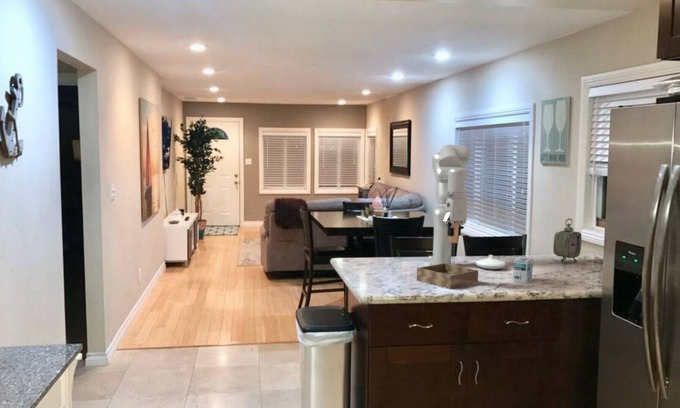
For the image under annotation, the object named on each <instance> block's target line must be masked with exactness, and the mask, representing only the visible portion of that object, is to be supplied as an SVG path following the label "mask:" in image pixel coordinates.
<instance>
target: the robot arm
mask: <svg viewBox="0 0 680 408" xmlns="http://www.w3.org/2000/svg"><path fill="white" fill-rule="evenodd" d="M469 158H470V149H469V148H468V146H467V145H464V144H446V145H443V146H442V147H441V148H440V150H439V152H436V153H434V154H433V155H432V156H431V166H432V167H431V168H432V169H433V173H434V176H435V200H436V203H438V204H439V205H445V206H437V207H435V208H434V209H433V211H432V220H433V221H432V222H433V244H432V248H433V249H432V255H430V256H428V257H427V260H428V261H430V262H429V266H431V265H437V264H442V263H446V264H451V265H454V263H452V245H453V243H450V242H449V236H452V237H453V236H454V228H453V225H454V221H459V230H458V236H461V228H462V226H464V225H465V224H466V223H467V218H468V205H467V204H468V201H467V200H468V199H467V198H468V197H467V190H466V188H465V187H466V186H465V182H466V180H467V177H468V175H467V174H468V173H467V170H466V169H465V168H466V166H467V164H468V162H469V160H470V159H469ZM451 220H452V221H451ZM450 222H451V223H450Z"/></svg>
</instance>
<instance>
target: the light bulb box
mask: <svg viewBox="0 0 680 408" xmlns="http://www.w3.org/2000/svg"><path fill="white" fill-rule="evenodd" d="M533 269H534V258H533V257H530V256H529V257H527V256H522V255H521V256H517V257H516V258H514V259H513V272H512V273H513V276H512V282H514V283H516V282H517V283H524V284H528V283H529V282H531V281H532V280H533Z"/></svg>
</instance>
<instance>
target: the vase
mask: <svg viewBox="0 0 680 408" xmlns="http://www.w3.org/2000/svg"><path fill="white" fill-rule="evenodd" d="M475 265H476V266H478V267H479V268H482V269H486V270H491V271H492V270H501V269H503V268H505V267H507V263H506V261H505V260H500V259H498V258H494V255H493V254H488V257H487V258H486V257H485V258H479V259H476V260H475Z"/></svg>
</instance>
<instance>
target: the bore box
mask: <svg viewBox="0 0 680 408" xmlns="http://www.w3.org/2000/svg"><path fill="white" fill-rule="evenodd" d="M416 281H417V282H421V283H425V284H428V283H429V284H430V285H432V284H434V285H433V286H436V285H437V287H440V286H441V288H444V287H445V288H444V289H448V288H449V289H448V290H452V289H451V288H453V289H457V288H456V287H458V288H461V286H462V287H467V286H471V285H470V284H472V285H475V283H476V284H478V283H479V270H477V269H473V268H469V267H465V266H464V267H463V266H458V265H451V264H446V263H442V264H437V265H431V266H430V265H426V266H420V267H416ZM466 285H467V286H466Z"/></svg>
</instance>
